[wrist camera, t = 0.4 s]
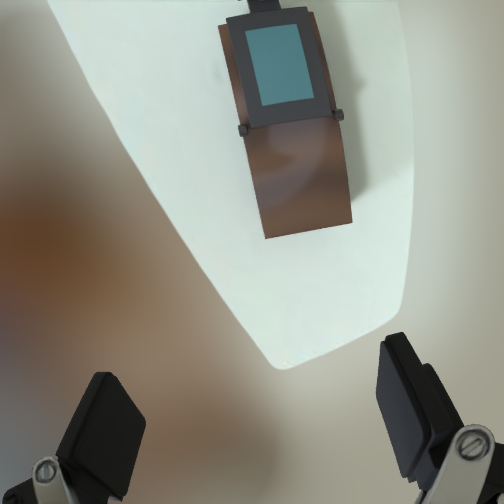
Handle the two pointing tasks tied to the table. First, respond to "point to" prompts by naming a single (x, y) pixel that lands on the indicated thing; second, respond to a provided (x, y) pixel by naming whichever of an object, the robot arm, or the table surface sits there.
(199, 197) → the table surface
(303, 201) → the stand
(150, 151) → the table surface
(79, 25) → the table surface
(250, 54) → the device
